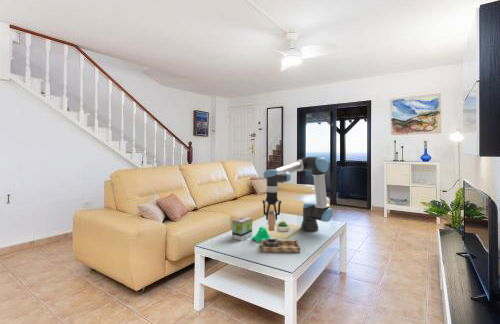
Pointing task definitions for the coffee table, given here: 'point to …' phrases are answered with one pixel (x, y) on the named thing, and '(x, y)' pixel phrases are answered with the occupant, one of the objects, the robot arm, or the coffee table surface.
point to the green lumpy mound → (261, 234)
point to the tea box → (241, 228)
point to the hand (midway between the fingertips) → (271, 224)
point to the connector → (271, 221)
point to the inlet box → (280, 246)
